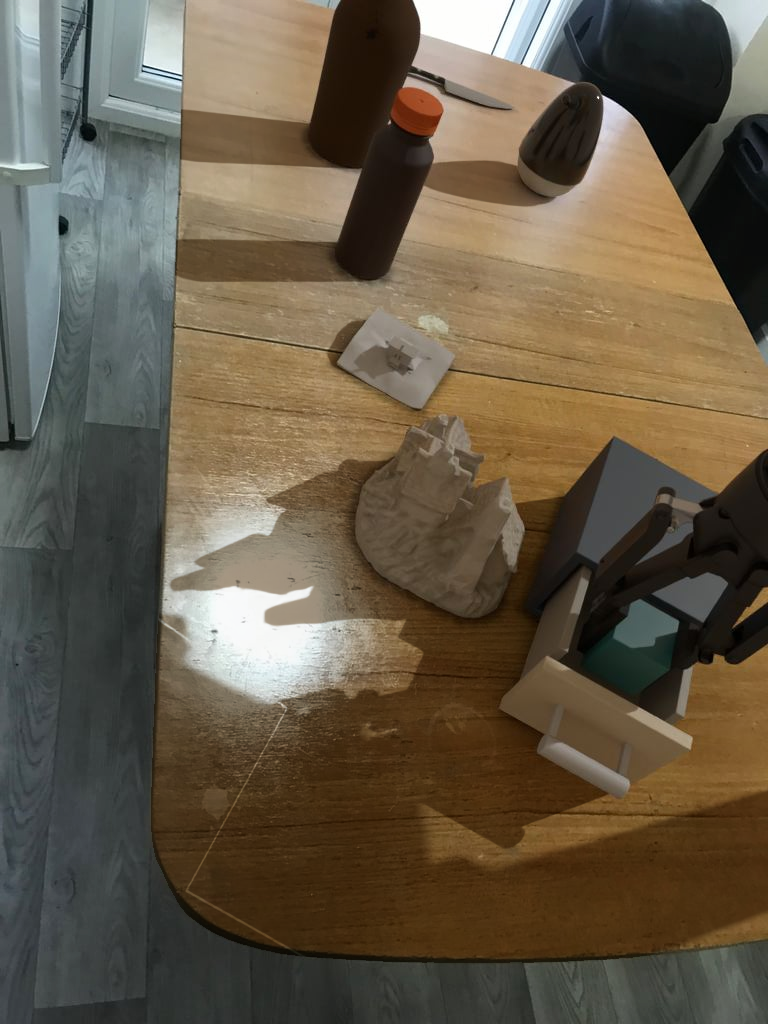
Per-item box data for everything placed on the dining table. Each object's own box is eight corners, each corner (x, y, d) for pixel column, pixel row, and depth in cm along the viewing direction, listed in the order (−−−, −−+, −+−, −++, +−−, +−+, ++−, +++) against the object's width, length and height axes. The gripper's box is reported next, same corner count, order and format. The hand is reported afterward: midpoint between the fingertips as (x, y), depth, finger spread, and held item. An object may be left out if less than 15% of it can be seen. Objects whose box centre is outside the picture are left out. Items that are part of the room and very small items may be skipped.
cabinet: (656, 683, 76) (723, 634, 69) (523, 609, 76) (576, 551, 69) (681, 561, 86) (742, 506, 79) (564, 495, 86) (614, 435, 79)
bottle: (345, 234, 100) (400, 72, 85) (396, 259, 101) (460, 103, 85) (325, 262, 96) (379, 97, 81) (378, 289, 96) (442, 130, 81)
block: (645, 648, 70) (679, 620, 67) (634, 696, 67) (669, 670, 63) (593, 619, 70) (624, 589, 67) (579, 666, 67) (612, 637, 63)
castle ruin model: (479, 641, 72) (559, 535, 62) (320, 539, 74) (371, 419, 63) (536, 534, 83) (613, 428, 72) (396, 447, 85) (451, 332, 74)
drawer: (623, 833, 65) (682, 803, 59) (482, 754, 65) (526, 716, 59) (662, 646, 78) (714, 605, 72) (543, 580, 78) (585, 533, 72)
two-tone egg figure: (493, 169, 121) (541, 66, 109) (536, 158, 127) (586, 59, 115) (542, 213, 118) (597, 113, 106) (583, 200, 124) (640, 103, 112)
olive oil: (389, 174, 111) (462, -25, 92) (314, 167, 106) (374, -44, 87) (365, 126, 116) (429, -72, 97) (293, 118, 112) (345, -92, 92)
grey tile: (331, 378, 85) (341, 351, 83) (353, 311, 93) (363, 285, 90) (440, 419, 87) (454, 394, 84) (453, 350, 94) (466, 325, 91)
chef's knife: (515, 119, 132) (515, 108, 134) (518, 113, 131) (518, 102, 133) (401, 78, 128) (402, 67, 129) (403, 71, 127) (404, 60, 128)
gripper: (676, 454, 48) (505, 637, 66) (949, 607, 48) (704, 749, 66) (694, 381, 53) (530, 569, 71) (942, 520, 53) (716, 674, 71)
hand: (614, 655), depth 69 cm, fingers closed on block, 5 cm apart
